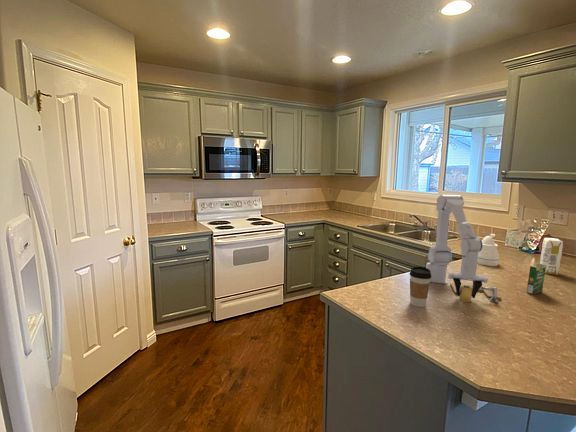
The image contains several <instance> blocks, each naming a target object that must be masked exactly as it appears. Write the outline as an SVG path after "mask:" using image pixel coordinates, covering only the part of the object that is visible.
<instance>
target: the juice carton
mask: <svg viewBox="0 0 576 432" xmlns="http://www.w3.org/2000/svg"><path fill="white" fill-rule="evenodd" d="M563 249H564V241H563V240H561V239H559V238H553V237H544V238H543V241H542V245H541V252H540V253H541V254H540V258H539V264H542V265H546V269H545V275H546V274H547V275H548V274H549V275H554V276H557V275H559V271H560V267H561V261H562V254H563Z"/></svg>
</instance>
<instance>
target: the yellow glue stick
mask: <svg viewBox="0 0 576 432" xmlns="http://www.w3.org/2000/svg"><path fill="white" fill-rule="evenodd" d="M469 285H470V284H463V285H461V287H460V295H459V296H458V297H459V299H458V300H459V301H462V302H464V303H471V302H472V298H473V297H472V289H473V287H471V286H469Z"/></svg>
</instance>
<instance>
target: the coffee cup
mask: <svg viewBox="0 0 576 432" xmlns="http://www.w3.org/2000/svg"><path fill="white" fill-rule="evenodd" d="M409 276H410V278H409V296H410V297H409V301H410V302H409V303H410V305H412V306H414V307H417V308H424V307H426V304H427V299H428V294H429V289H430V286H431V282H430V278H431V271H430V270H429V269H428V268H426V266H425V267H424V266H412V267H411V268H410V271H409Z"/></svg>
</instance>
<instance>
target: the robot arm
mask: <svg viewBox="0 0 576 432" xmlns="http://www.w3.org/2000/svg"><path fill="white" fill-rule="evenodd" d="M464 203H465V200H464V197H463V195H461V194H440V195H439V196H438V197H437V199H436V208H435V209H436V211H437V221H436V236H435V244H433V245H431V246H430V247H429V249H428V254H427V259H428V260H427V261H429V262H426V265H425V268H428V269H429V270H430V271H431V278H430V283H438V284H446V285H448V281H447V277H448V280H453V283H455V286H456V292H457V295H456V296H457V297H459V296H460V286H461V284H462V282H461V280H463V281H470V282H471V281H472V286H473V290H472V297H471V298H472V299H476V296H477V293H478V290H479V289H480V287H481V286H482V287H483V283H484V284H485V283H486V284H488V279H489V278H488V277H487V276H481V275H477V269H478V268H477V267H478V263H477V261H478V252H480V251H481V250H482V247H483V244H482V240H483V239H481V238H480V237H478V236H477V235H476V234H475V230H474V229H473V226H472V224H471V223H469V222H468V221H467V218H466V214H465V211H464V208H463V207H464ZM450 214H452V215H453V218H455V219H454V220H456V223H457V227H456V230H457V232H458V235H459V237H460V240H461V241H460V249H461V252H460V253H461V255H462V256H461V265H460V273H458V272H457V273H450V272H449V273H448V276H447V271H448V270H447V269H448V265H450V263H452V260H453V254H452V249H451V247H450V246H448V237H449V226H450Z"/></svg>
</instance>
